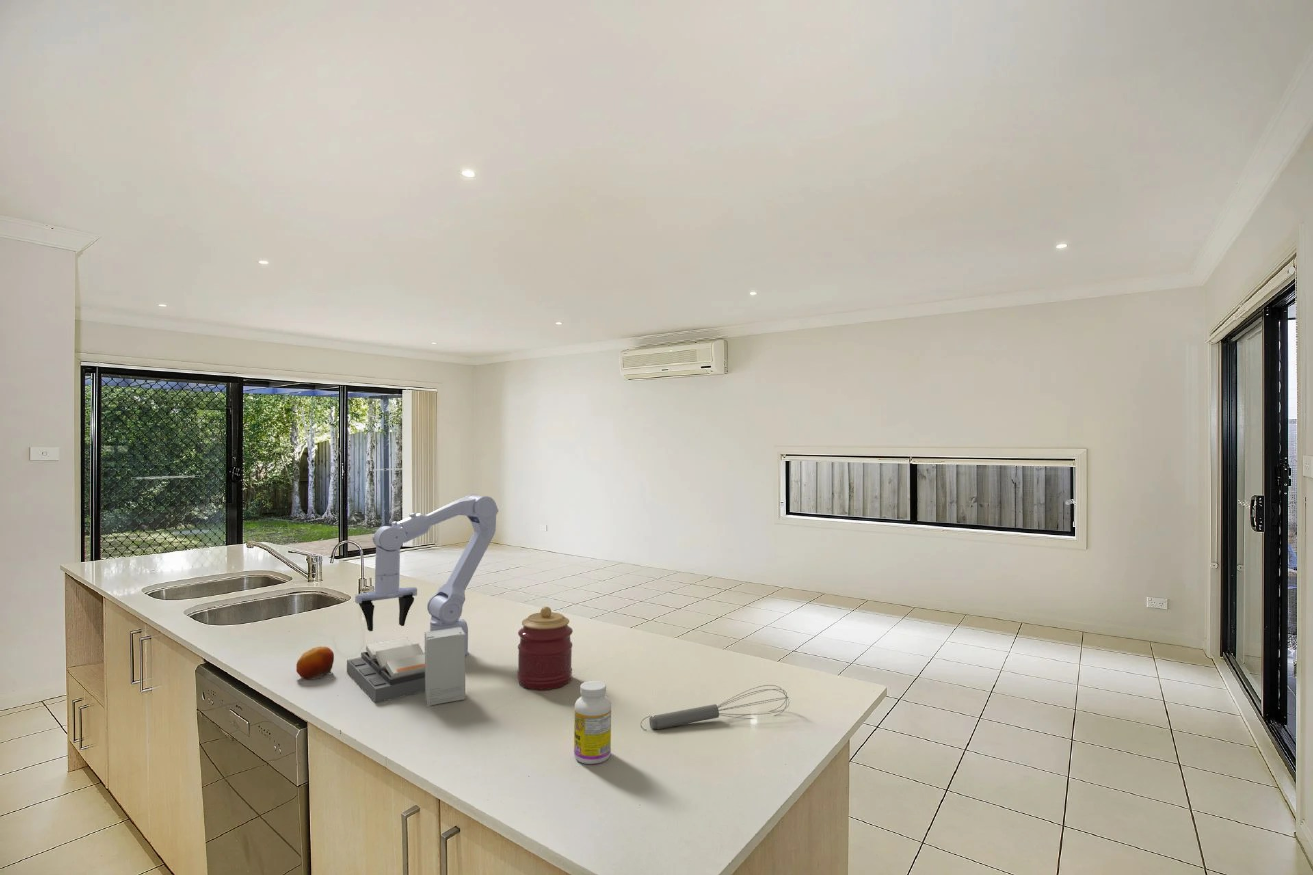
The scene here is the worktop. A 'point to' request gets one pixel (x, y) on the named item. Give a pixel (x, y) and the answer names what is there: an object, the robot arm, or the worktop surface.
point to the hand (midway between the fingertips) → (386, 627)
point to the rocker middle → (397, 654)
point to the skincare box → (444, 666)
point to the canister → (544, 651)
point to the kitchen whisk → (702, 713)
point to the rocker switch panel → (382, 680)
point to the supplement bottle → (592, 724)
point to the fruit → (315, 663)
